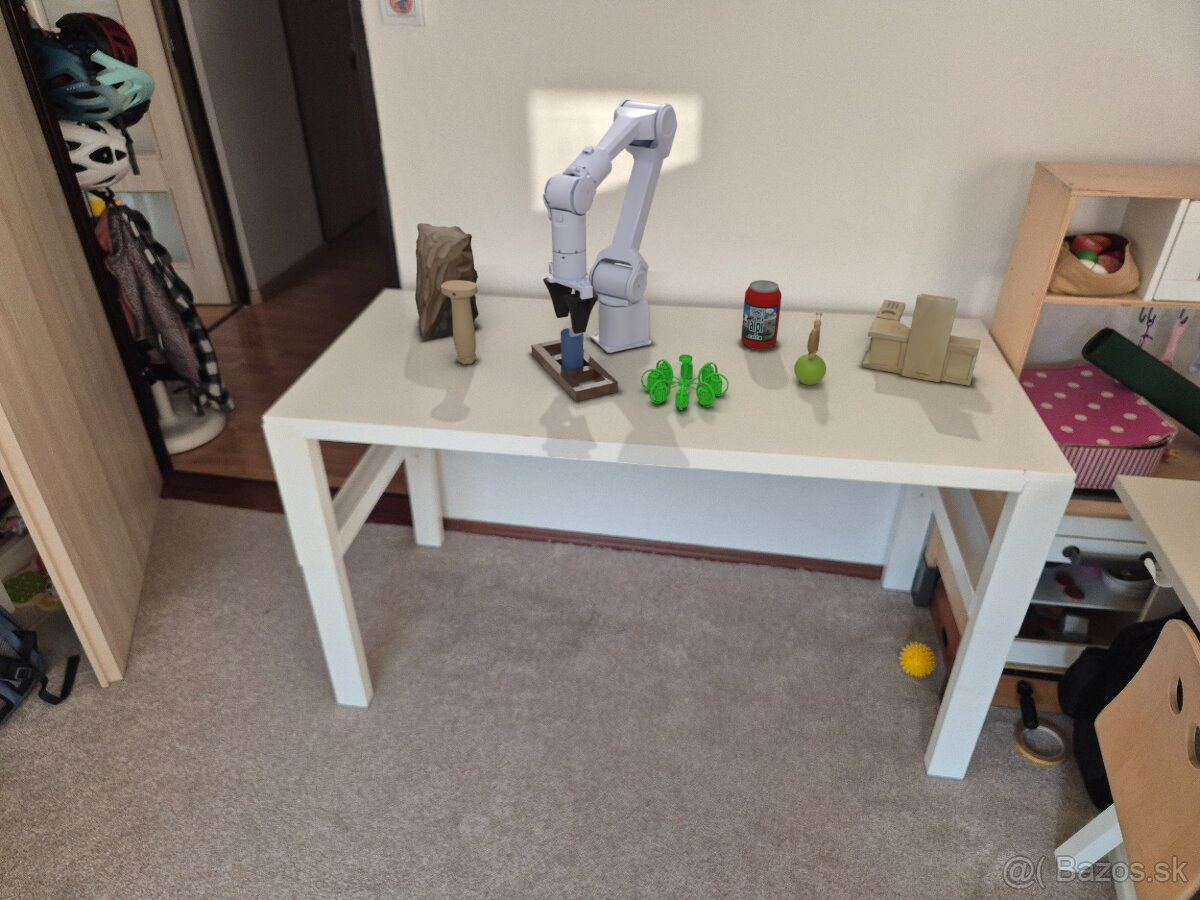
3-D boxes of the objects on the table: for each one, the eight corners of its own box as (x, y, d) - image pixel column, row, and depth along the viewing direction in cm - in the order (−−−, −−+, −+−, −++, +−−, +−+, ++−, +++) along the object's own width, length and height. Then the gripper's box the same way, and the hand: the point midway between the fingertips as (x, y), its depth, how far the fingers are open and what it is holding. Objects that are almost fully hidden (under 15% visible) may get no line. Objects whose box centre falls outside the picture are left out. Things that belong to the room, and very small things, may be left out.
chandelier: (645, 371, 152) (646, 336, 149) (728, 376, 150) (731, 341, 147) (635, 411, 140) (636, 374, 136) (725, 417, 138) (729, 380, 134)
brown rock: (417, 316, 175) (405, 222, 164) (478, 311, 177) (469, 217, 166) (420, 341, 164) (406, 242, 154) (484, 335, 167) (475, 236, 156)
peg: (578, 365, 155) (577, 325, 150) (587, 374, 152) (586, 334, 147) (558, 370, 153) (557, 329, 149) (567, 379, 150) (565, 338, 146)
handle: (477, 369, 154) (470, 292, 146) (445, 365, 156) (436, 288, 148) (487, 358, 158) (481, 282, 150) (456, 354, 159) (448, 279, 151)
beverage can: (736, 348, 160) (741, 289, 154) (745, 334, 166) (750, 277, 159) (771, 354, 158) (778, 294, 152) (779, 340, 163) (785, 281, 157)
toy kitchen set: (977, 350, 158) (996, 274, 150) (969, 388, 146) (989, 307, 138) (877, 334, 165) (890, 260, 157) (861, 368, 152) (874, 290, 144)
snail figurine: (826, 376, 150) (835, 313, 144) (822, 392, 145) (831, 328, 139) (795, 371, 152) (803, 309, 145) (790, 387, 147) (798, 324, 140)
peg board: (570, 346, 162) (570, 337, 161) (618, 392, 146) (618, 381, 145) (531, 354, 159) (531, 344, 158) (576, 401, 143) (575, 391, 142)
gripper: (531, 240, 144) (534, 313, 152) (564, 265, 133) (566, 343, 140) (568, 234, 147) (570, 307, 154) (604, 259, 136) (604, 336, 143)
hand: (570, 324), depth 147 cm, fingers open, 7 cm apart
